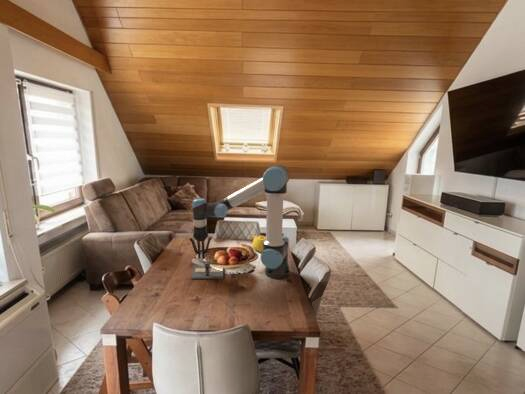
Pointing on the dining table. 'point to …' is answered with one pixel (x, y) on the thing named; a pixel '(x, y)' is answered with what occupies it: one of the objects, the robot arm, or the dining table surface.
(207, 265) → the cable arm
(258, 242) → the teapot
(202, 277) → the server plate
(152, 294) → the dining table surface
